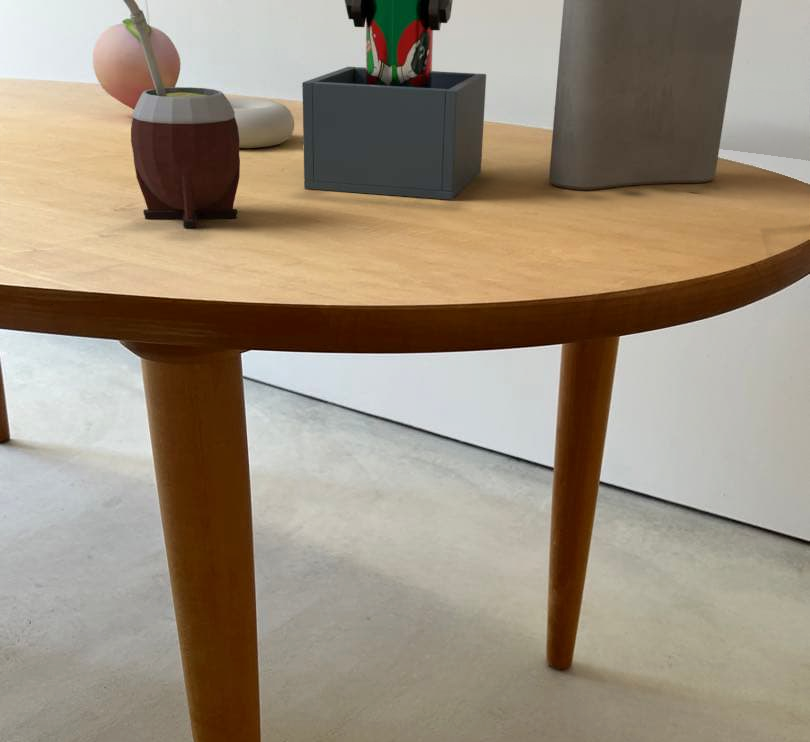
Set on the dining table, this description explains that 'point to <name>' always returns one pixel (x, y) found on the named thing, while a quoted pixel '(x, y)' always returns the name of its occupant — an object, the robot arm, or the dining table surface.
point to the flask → (641, 91)
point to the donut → (261, 122)
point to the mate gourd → (183, 146)
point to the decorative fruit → (133, 62)
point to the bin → (393, 134)
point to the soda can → (398, 43)
